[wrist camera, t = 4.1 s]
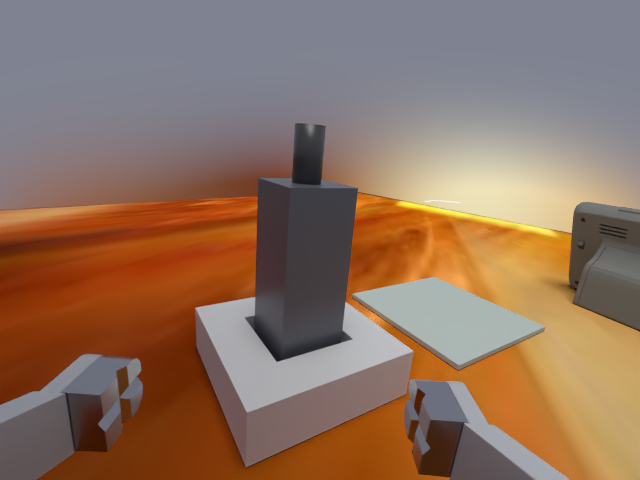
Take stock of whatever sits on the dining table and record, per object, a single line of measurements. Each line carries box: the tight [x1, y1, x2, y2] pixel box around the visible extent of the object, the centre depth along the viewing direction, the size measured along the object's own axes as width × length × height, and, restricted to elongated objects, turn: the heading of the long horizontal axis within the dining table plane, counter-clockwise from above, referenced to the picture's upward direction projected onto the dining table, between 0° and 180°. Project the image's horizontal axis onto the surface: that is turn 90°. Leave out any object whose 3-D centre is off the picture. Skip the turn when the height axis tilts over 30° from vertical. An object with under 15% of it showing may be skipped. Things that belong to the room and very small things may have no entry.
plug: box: [254, 123, 358, 362], centre depth 19 cm, size 4×4×15 cm
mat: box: [352, 277, 545, 370], centre depth 30 cm, size 12×12×1 cm
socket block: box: [195, 297, 414, 467], centre depth 21 cm, size 10×10×3 cm
